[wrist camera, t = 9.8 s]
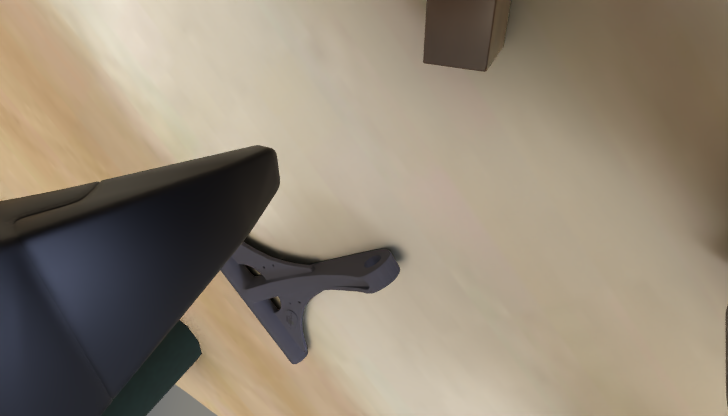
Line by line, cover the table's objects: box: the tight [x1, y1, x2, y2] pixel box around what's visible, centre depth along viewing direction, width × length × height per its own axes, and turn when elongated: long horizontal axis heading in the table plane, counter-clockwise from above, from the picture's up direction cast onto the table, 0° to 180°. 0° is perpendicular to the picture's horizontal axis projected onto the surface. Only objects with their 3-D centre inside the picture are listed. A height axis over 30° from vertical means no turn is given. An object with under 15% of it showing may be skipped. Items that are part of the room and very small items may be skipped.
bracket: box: [221, 242, 400, 364], centre depth 30 cm, size 14×15×3 cm
